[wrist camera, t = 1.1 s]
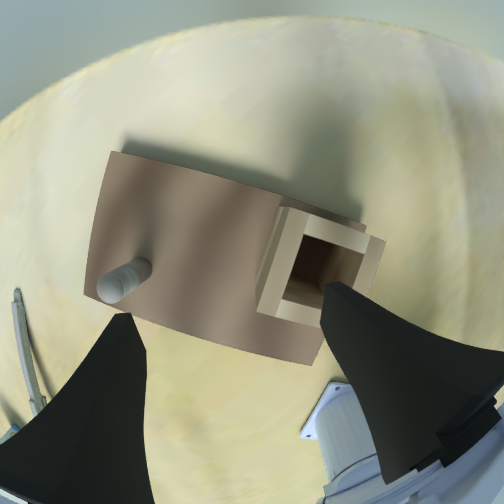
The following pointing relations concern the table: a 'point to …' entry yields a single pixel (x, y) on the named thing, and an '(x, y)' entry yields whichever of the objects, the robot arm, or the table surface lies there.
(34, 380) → the caliper
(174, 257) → the brown board with peg
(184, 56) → the table surface
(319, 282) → the hollow square tube
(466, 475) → the robot arm
